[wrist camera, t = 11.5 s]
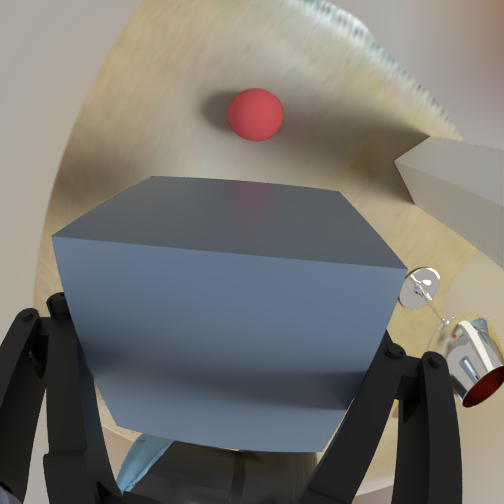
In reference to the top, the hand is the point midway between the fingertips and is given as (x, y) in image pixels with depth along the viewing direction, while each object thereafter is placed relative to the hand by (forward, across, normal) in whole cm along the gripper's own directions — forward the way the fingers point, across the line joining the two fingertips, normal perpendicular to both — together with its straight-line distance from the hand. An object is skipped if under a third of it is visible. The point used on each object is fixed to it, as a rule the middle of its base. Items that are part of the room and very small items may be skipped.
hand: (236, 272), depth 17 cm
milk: (+15, -19, -6) cm, 25 cm away
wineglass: (+15, -23, +9) cm, 29 cm away
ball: (+13, 0, -9) cm, 16 cm away
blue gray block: (+1, 0, 0) cm, 1 cm away
